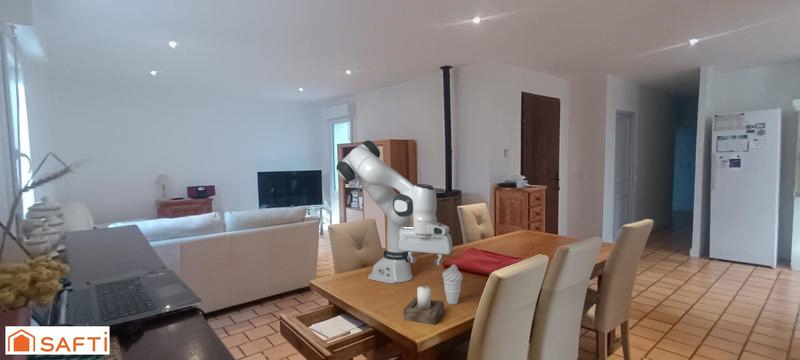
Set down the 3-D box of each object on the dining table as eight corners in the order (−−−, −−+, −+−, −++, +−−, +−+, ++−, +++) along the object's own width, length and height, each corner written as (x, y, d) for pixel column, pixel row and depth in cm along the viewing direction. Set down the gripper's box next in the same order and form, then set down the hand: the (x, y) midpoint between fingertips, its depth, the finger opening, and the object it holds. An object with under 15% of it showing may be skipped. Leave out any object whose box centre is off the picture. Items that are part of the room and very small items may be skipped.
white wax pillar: (415, 309, 137) (415, 287, 137) (419, 304, 142) (419, 283, 142) (428, 311, 136) (428, 289, 135) (432, 306, 140) (432, 284, 140)
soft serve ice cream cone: (449, 307, 146) (448, 268, 145) (438, 300, 153) (438, 263, 152) (466, 304, 149) (466, 265, 148) (455, 297, 157) (455, 260, 156)
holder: (403, 319, 136) (403, 309, 135) (414, 307, 147) (414, 297, 146) (435, 324, 131) (434, 313, 131) (443, 311, 142) (443, 301, 142)
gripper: (396, 227, 138) (396, 263, 139) (449, 230, 131) (449, 268, 131) (402, 224, 144) (402, 259, 145) (453, 227, 137) (453, 263, 137)
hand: (425, 263), depth 138 cm, fingers open, 8 cm apart
